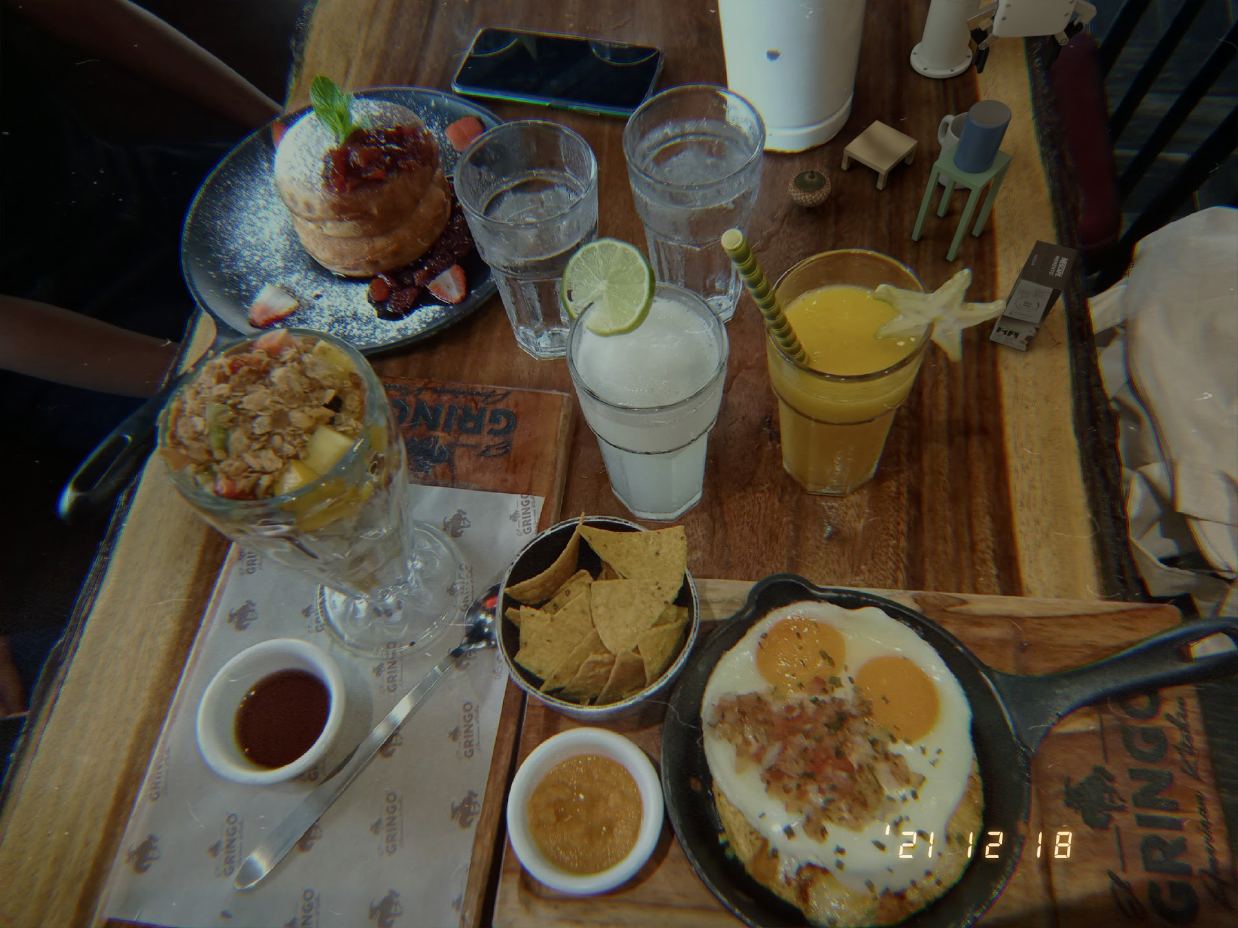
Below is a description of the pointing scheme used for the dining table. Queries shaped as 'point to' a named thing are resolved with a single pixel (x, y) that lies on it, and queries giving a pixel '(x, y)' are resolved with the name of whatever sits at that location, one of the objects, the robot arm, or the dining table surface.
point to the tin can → (982, 136)
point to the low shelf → (880, 150)
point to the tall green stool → (976, 184)
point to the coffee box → (1034, 294)
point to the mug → (950, 139)
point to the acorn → (809, 188)
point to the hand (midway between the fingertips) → (1011, 66)
